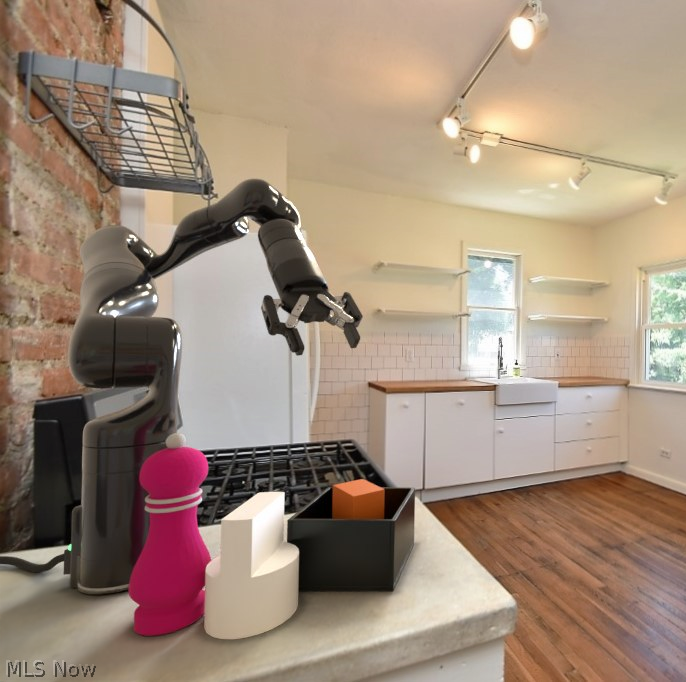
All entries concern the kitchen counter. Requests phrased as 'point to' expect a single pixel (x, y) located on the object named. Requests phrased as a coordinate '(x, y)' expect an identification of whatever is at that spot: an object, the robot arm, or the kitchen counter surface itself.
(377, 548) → the bin
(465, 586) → the kitchen counter surface
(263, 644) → the kitchen counter surface
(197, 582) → the pepper mill
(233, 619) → the cylinder with rectangular tab
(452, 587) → the kitchen counter surface
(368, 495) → the orange rectangular block
